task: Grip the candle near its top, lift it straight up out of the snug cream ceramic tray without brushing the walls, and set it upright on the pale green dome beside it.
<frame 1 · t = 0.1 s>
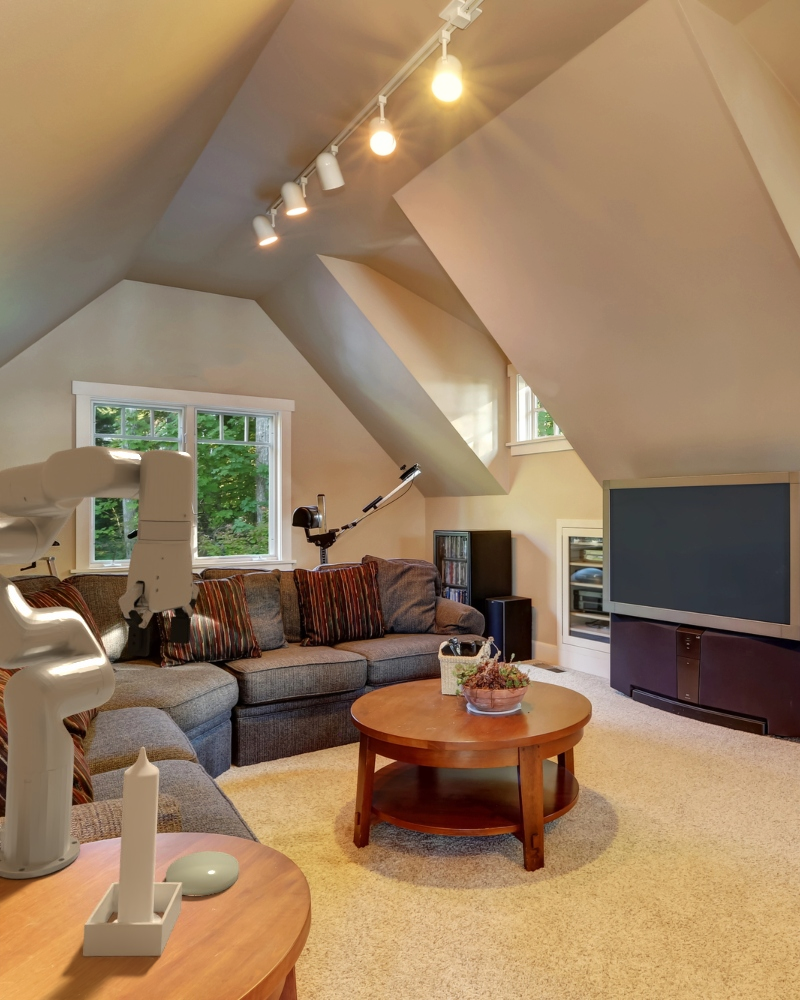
hand: (160, 648, 99), 37 cm above the table, tool pointing down, fingers open, 9 cm apart
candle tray: (134, 932, 91), on the table
candle: (134, 933, 91), resting in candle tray
pale green dome: (202, 876, 105), on the table
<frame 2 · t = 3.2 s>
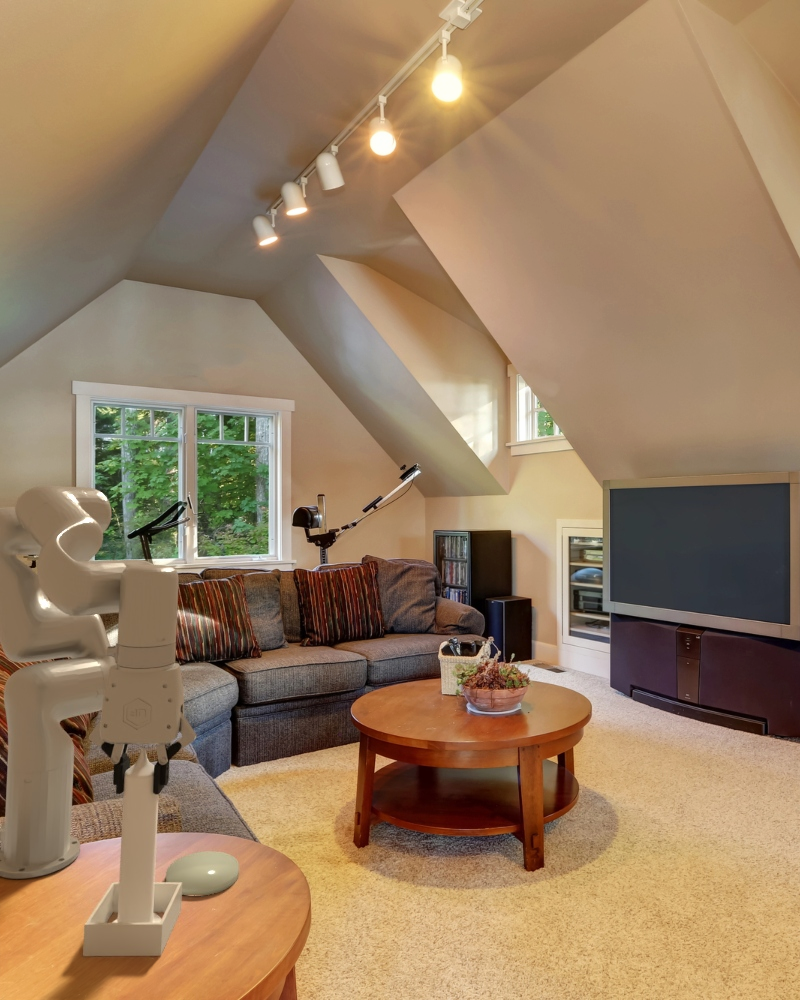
hand: (140, 788, 91), 19 cm above the table, tool pointing down, fingers closed on candle, 4 cm apart
candle: (134, 933, 91), resting in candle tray, touching gripper
when the fingers open (22 cm above the table, at t = 12.0 s): candle drops 1 cm, resting on pale green dome.
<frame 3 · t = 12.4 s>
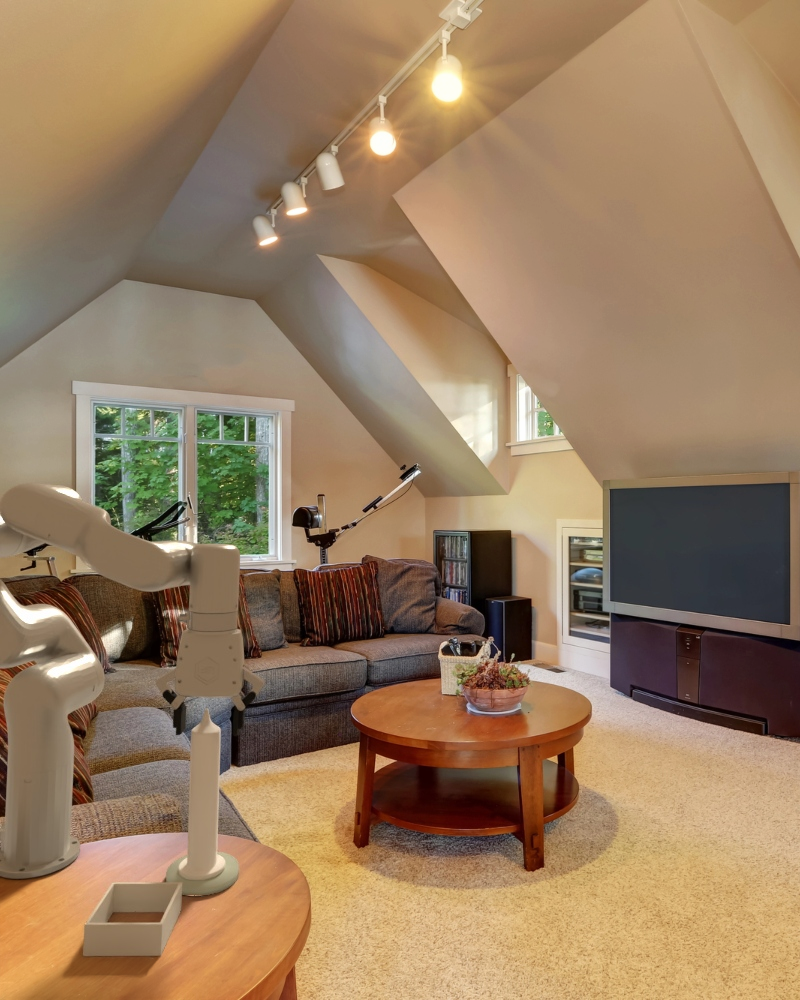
hand: (208, 732, 105), 23 cm above the table, tool pointing down, fingers open, 8 cm apart
candle: (201, 870, 105), point 1 cm above the table, touching pale green dome
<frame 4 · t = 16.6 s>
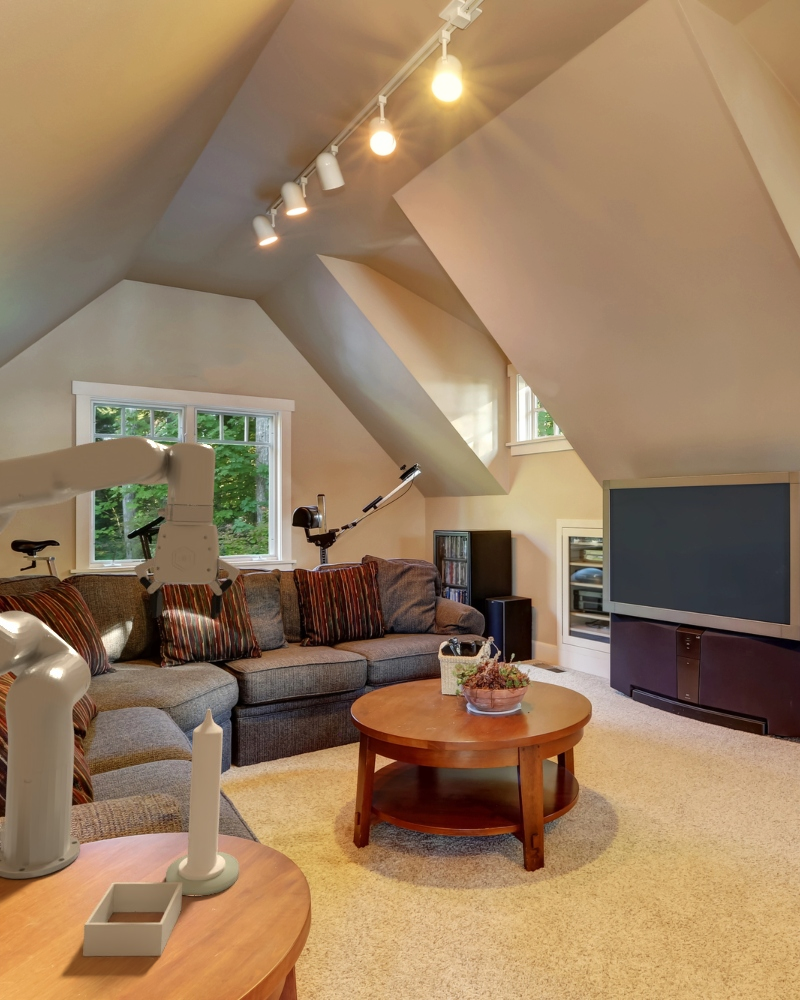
hand: (185, 617, 113), 39 cm above the table, tool pointing down, fingers open, 9 cm apart
nothing on the table moved.
at the end: candle 0.2 cm from the pale green dome (horizontally); candle point 1.0 cm above the table; candle tilted 0° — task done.
